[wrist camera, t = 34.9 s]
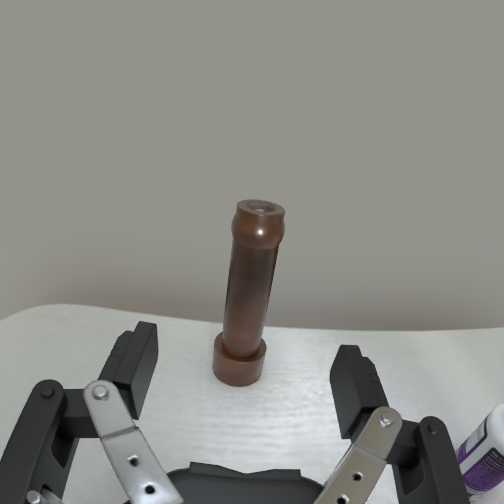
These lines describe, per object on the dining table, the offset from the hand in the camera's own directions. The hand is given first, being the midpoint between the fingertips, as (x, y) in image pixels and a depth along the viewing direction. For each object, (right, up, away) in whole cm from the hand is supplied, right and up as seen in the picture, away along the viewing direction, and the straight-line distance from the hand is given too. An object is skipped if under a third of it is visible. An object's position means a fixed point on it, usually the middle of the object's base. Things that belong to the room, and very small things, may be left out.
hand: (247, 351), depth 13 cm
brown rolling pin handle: (-1, -6, +14) cm, 16 cm away
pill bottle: (+18, -14, +3) cm, 23 cm away
